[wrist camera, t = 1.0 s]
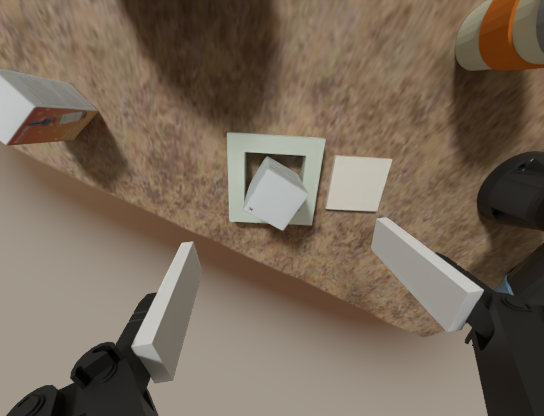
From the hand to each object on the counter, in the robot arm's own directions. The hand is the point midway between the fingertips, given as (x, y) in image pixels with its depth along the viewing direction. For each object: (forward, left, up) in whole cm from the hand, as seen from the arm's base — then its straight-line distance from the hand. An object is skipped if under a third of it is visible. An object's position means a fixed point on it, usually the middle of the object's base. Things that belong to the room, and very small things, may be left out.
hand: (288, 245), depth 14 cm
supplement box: (0, +3, -27) cm, 27 cm away
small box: (+36, -7, -27) cm, 46 cm away
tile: (-17, +3, -27) cm, 32 cm away
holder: (0, +3, -27) cm, 27 cm away
